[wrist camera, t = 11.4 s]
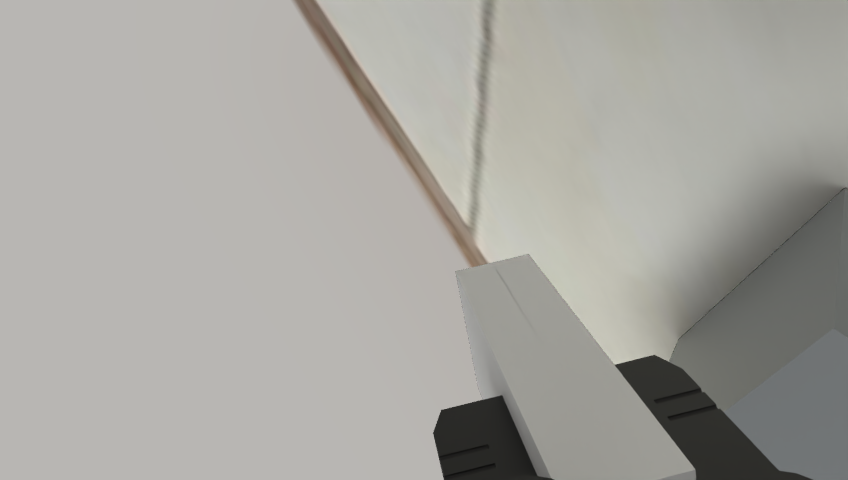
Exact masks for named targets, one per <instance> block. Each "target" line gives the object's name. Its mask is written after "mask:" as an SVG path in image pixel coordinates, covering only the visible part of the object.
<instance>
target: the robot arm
mask: <svg viewBox="0 0 848 480" xmlns="http://www.w3.org/2000/svg"><path fill="white" fill-rule="evenodd" d="M456 277H457V282H458V288H459V292H460V298H461V303H462V308H463V313H464V318H465V323H466V328H467V333H468V339H469V344H470V349H471V354H472V359H473V364H474V370H475V375H476V380H477V385H478V389H479V391H480V394H481V397H482V399H483V400H480V401H476V402H472V403H468V404H464V405H460V406H456V407H452V408H448V409H444V410H441V413H440V415H439V418H438V421H437V424H436V427H435V430H434V432H433V434H434V439H435V443H436V447H437V451H438V456H439V460H440V464H441V469H442V473H443V477H444V480H813V479H810V478H808V477H805V476H802V475H800V474H797V473H792V472H785V471H779V470H778V469H777V468H776V467H775V466H774V465H773V464H772V463H771V462H770V461H769V459H768V458H767V457H766V456H765V455H764V454H763V453H762V452H761V451H760V450H759V449H758V448H757V447H756V446H755V445H754V444H753V443H752V441H751V440H750V439H749V438H748V437H747V436H746V435H745V434H744V433H743V432H742V431H741V430H740V429H739V428H738V427H737V426H736V425H735V424H734V422H733V421H732V420H731V419H730V418H729V417H728V416H727V415H726V414H725V413H724V412H723V411H722V410H721V409H718V408H717V406H716V403H715V402H714V401H713V400H712V399H711V398H710V397H709V396H708V395H707V394H706V393H705V392H702V391H701V388H700V387H699V386H698V384H697V383H696V382H695V381H694V380H693V379H692V378H691V377H690V376H689V375H688V374H687V373H686V372H685V371H684V370H683V369H682V368H680V367H678V366H676V365H674V364H672V363H670V362H668V361H666V360H664V359H662V358H660V357H657V356H655V355H653V356H649V357H645V358H640V359H636V360H632V361H628V362H624V363H620V364H616V365H614V364H613V362H612V361H611V360H610V359H609V357H608V356H607V355H606V353H605V352H604V351H603V349H602V348H601V347H600V346H599V344H598V343H597V342H596V340H595V339H594V338H593V337H592V335H591V334H590V333H589V331H588V330H587V329H586V327H585V326H584V325H583V324H582V322H581V321H580V320H579V318H578V317H577V316H576V315H575V313H574V312H573V311H572V309H571V308H570V307H569V306H568V304H567V303H566V302H565V300H564V299H563V298H562V296H561V295H560V294H559V293H558V291H557V290H556V289H555V287H554V286H553V285H552V284H551V282H550V281H549V280H548V278H547V277H546V276H545V275H544V273H543V272H542V271H541V269H540V268H539V267H538V265H537V264H536V263H535V262H534V260H533V259H532V258H531V256H530V255H529V254H527V255H523V256H518V257H514V258H510V259H506V260H502V261H497V262H493V263H489V264H485V265H480V266H476V267H472V268H468V269H463V270H459V271H456Z"/></svg>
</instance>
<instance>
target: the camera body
mask: <svg viewBox="0 0 848 480" xmlns="http://www.w3.org/2000/svg"><path fill="white" fill-rule="evenodd" d="M669 362H670V363H672V364H674V365H676V366H678V367H680V368H682V369H683V370H684V371H685V372H686V373H687V374H688V375H689V376H690V377H691V378H692V379H693V380H694V381H695V382H696V383H697V384H698V386H699V387H700V388H701V391H702V392H705V393H706V394H707V395H708V396H709V397H710V398H711V399H712V400H713V401H714V402H715V403H716V406H717V408H718V409H721V410H722V411H723V412H724V413H725V414H726V415H727V416H728V417H729V418H730V419H731V420H732V421H733V422H734V424H735V425H736V426H737V427H738V428H739V429H740V430H741V431H742V432H743V433H744V434H745V435H746V436H747V437H748V438H749V439H750V440H751V441H752V443H753V444H754V445H755V446H756V447H757V448H758V449H759V450H760V451H761V452H762V453H763V454H764V455H765V456H766V457H767V458H768V459H769V461H770V462H771V463H772V464H773V465H774V466H775V467H776V468H777V469H778V470H779V471H785V472H792V473H797V474H800V475H802V476H805V477H808V478H810V479H813V480H848V189H847V188H844V189H843V190H842V191H841V192H840V193H839V194H838V195H836V196H835V197H834V198H833V199H832V200H831V201H830V202H829V203H828V204H827V205H826V206H824V207H823V208H822V209H821V210H820V211H819V212H818V213H817V214H816V215H815V216H813V217H812V218H811V219H810V220H809V221H808V222H807V223H806V224H805V225H804V226H803V227H801V228H800V229H799V230H798V231H797V232H796V233H795V234H794V235H793V236H792V237H790V238H789V239H788V240H787V241H786V242H785V243H784V244H783V245H782V246H781V247H779V248H778V249H777V250H776V251H775V252H774V253H773V254H772V255H771V256H770V257H769V258H767V259H766V260H765V261H764V262H763V263H762V264H761V265H760V266H759V267H758V268H756V269H755V270H754V271H753V272H752V273H751V274H750V275H749V276H748V277H747V278H746V279H744V280H743V281H742V282H741V283H740V284H739V285H738V286H737V287H736V288H735V289H733V290H732V291H731V292H730V293H729V294H728V295H727V296H726V297H725V298H724V299H723V300H721V301H720V302H719V303H718V304H717V305H716V306H715V307H714V308H713V309H712V310H710V311H709V312H708V313H707V314H706V315H705V316H704V317H703V318H702V319H701V320H699V321H698V322H697V323H696V324H695V325H694V326H693V327H692V328H691V329H690V330H689V331H687V332H686V333H685V334H684V335H683V336H682V337H681V338H680V339H679V340H678V342H677V344H676V347H675V349H674V351H673V354H672V356H671V358H670V361H669Z"/></svg>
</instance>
